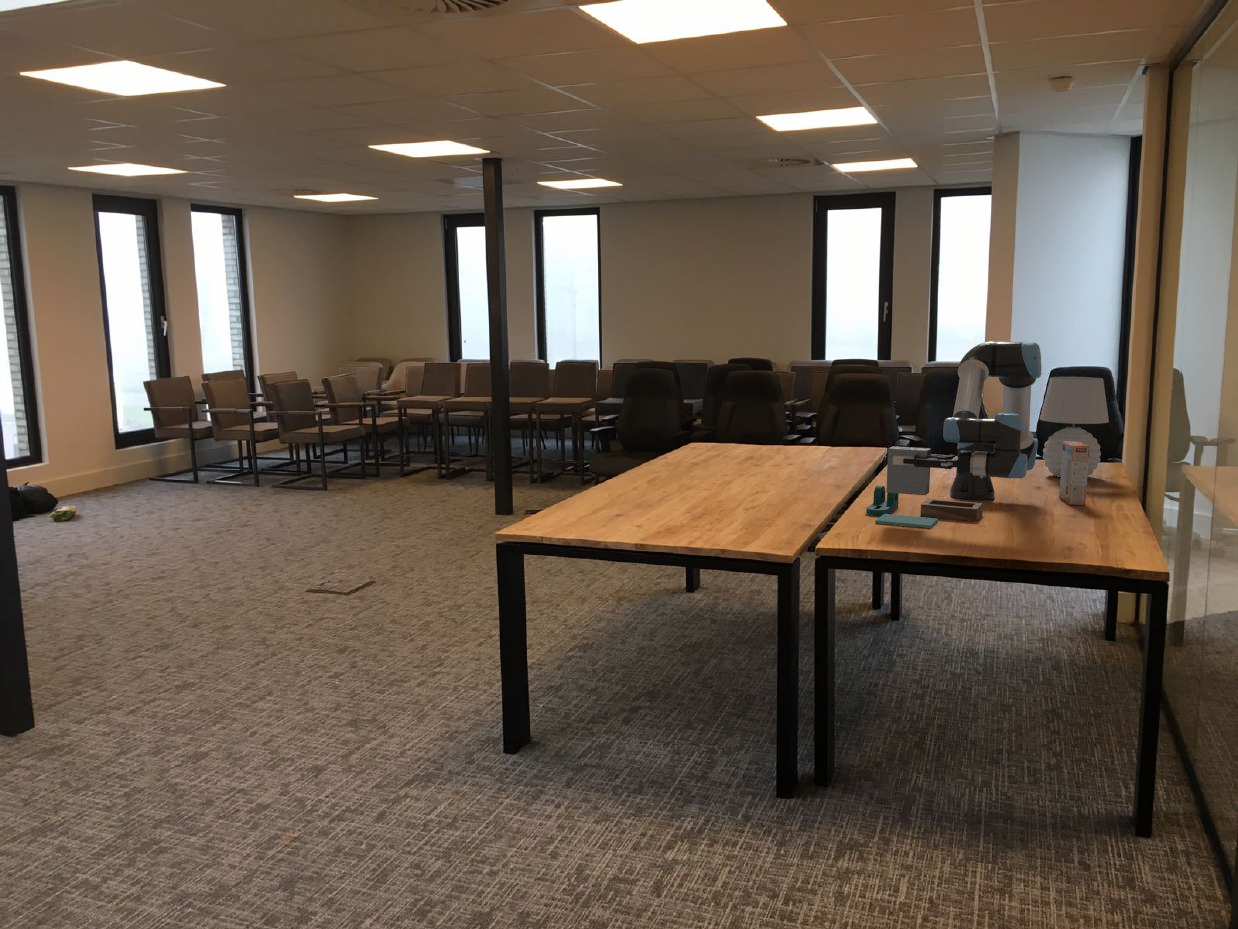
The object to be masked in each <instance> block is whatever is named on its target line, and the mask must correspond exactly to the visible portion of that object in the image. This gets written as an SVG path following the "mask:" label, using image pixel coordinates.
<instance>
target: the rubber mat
mask: <svg viewBox="0 0 1238 929" xmlns="http://www.w3.org/2000/svg"><path fill="white" fill-rule="evenodd" d="M938 521H939V518H932V517H921V516H911V515H904V514H903V515H901V514H891V513H890V514H883V515H882V516H878V518H877V519H875V520H874V522H875V523H878V524H877V525H886V524H895V525H894V526H896V525H902V526H901V527H906V526H910V527H909V528H917V527H925V528H924V529H927V528H931V527H932V528H933V527H935V525H936V524H937V523H939V522H938ZM875 523H874V524H875ZM934 524H935V525H934ZM932 528H931V529H932Z"/></svg>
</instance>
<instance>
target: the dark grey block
mask: <svg viewBox="0 0 1238 929" xmlns="http://www.w3.org/2000/svg"><path fill="white" fill-rule="evenodd" d="M931 454H932V448H929V447H928V448H927V447H926V448H925V447H912V446H911V447H909V446H896V445H895V446H891V447H888V448H887V464H886V465H887V467H886V468H887V469H886V489H885V493H899V494H902V495H915V496H927V495H928V494H929V493H930V483H931V482H930V481H931V468H928V467H915V466H911V465H896V464H893V456H910V457H914V455H916V457H917V458H931Z"/></svg>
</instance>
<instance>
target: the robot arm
mask: <svg viewBox="0 0 1238 929" xmlns="http://www.w3.org/2000/svg"><path fill="white" fill-rule="evenodd" d="M957 375H958V377H959V381H958V386H957V392H956V398H955V402H954V403H955V404H954V409H953V414H952V417H946V418H945V419H944V422H943V431H942V432H943V440H944V441H945V442H947V443H955V444H957V447H956V449H957V450H956V451H957V455H955V454H949V455H947V454H936V453H935V454H933V453H931V458H917V457H916V455H914V457H910V456H893V464H896V465H911V466H915V467H928V468H930V469H931V468H933V469H945V470H952V469H954V468H955V470H956V472H955V477H954V480H953V482H952V485H951V487H950V490H949V495H950V497H952V498H956V499H961V500H962V499H963V500H973V501H984V500H985V501H987V500H993V499H994V498H995V493H996V492H995V489H994V485H993V481H992V478H998V479H999V478H1002V479H1007V480H1008V479H1024V478H1025V477H1026V476H1027V472H1028V471H1031V470H1033V469H1034V466H1035V463H1036V459H1037V452H1038V448H1039V440H1038V438H1035V437H1034V434H1033V432H1031V430H1030V422H1031V420H1030V419H1031V397H1032V396H1031V395H1032V394H1031V393H1032V386H1033V384H1035V382H1036V381H1037V379H1039V378H1041V377H1042V354H1041V348H1040V344H1038V343H1037V342H1034V341H1025V340H1024V341H984V342H982V343H979V344H977V345H975V346H974V347H972V348H971V349H970V350H968V351H967V352H966V353H965V354H964V356H963V357H962V358H961V360H960V361H959V365H958V369H957ZM988 378H998V381H999V383H1000V384H1001V385H1002V386H1003V394H1002V395H1003V396H1002V399H1003V402H1002V403H1003V404H1002V406H1003V407H1002V412H999V413H996V414H995V416H994V418H979V417H980V413H981V412H980V411H981V404H982V397H983V391H984V386H985V382H986V380H988Z"/></svg>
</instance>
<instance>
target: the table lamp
mask: <svg viewBox="0 0 1238 929" xmlns="http://www.w3.org/2000/svg"><path fill="white" fill-rule="evenodd" d="M1046 389H1047V390H1046V394H1045V397H1044V401H1043V405H1042V409H1041V413H1040V417H1039V420H1040V421H1042V422H1050V423H1057V424H1058V423H1060V424H1071V426H1065V428H1062V429H1061V428H1060V430H1058V431H1055V432H1054V433H1053V434H1052V435H1050V436H1049V437H1048V438H1047V439H1048V440H1047V441H1045V443H1044V448H1043V449H1042V452H1043V455H1042V459H1043V460H1044V466H1045V467H1046V468H1047V469H1048V472H1049V473H1051V474H1052V475H1053V476H1054V477H1055V476H1057V477H1056V478H1058V477H1061V465H1062V450H1063V441H1077V442H1081V443H1083V444H1085V445H1087V446H1090V450H1089V462H1088V475H1087V477H1088V476H1090V475H1092V474H1093V473H1094V470H1096V469H1097V468H1098V464H1099V463H1100V462H1101V458H1100V457H1101V455H1102V453H1101V450H1100V449H1101V445H1100V444H1099V443H1098V439H1097V438H1096V437H1093V434H1092V433H1091V432H1088V431H1087V430H1085V429H1083V428H1082V427H1080V426H1076V424H1077V425H1078V424H1079V425H1080V424H1081V425H1084V424H1085V425H1091V424H1092V425H1093V424H1094V425H1097V424H1107V423H1110V420H1109V413H1108V406H1107V405H1108V404H1107V398H1106V390H1105V382H1104V378H1101V377H1089V376H1052V377H1049V382H1048V385H1047V388H1046Z"/></svg>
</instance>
